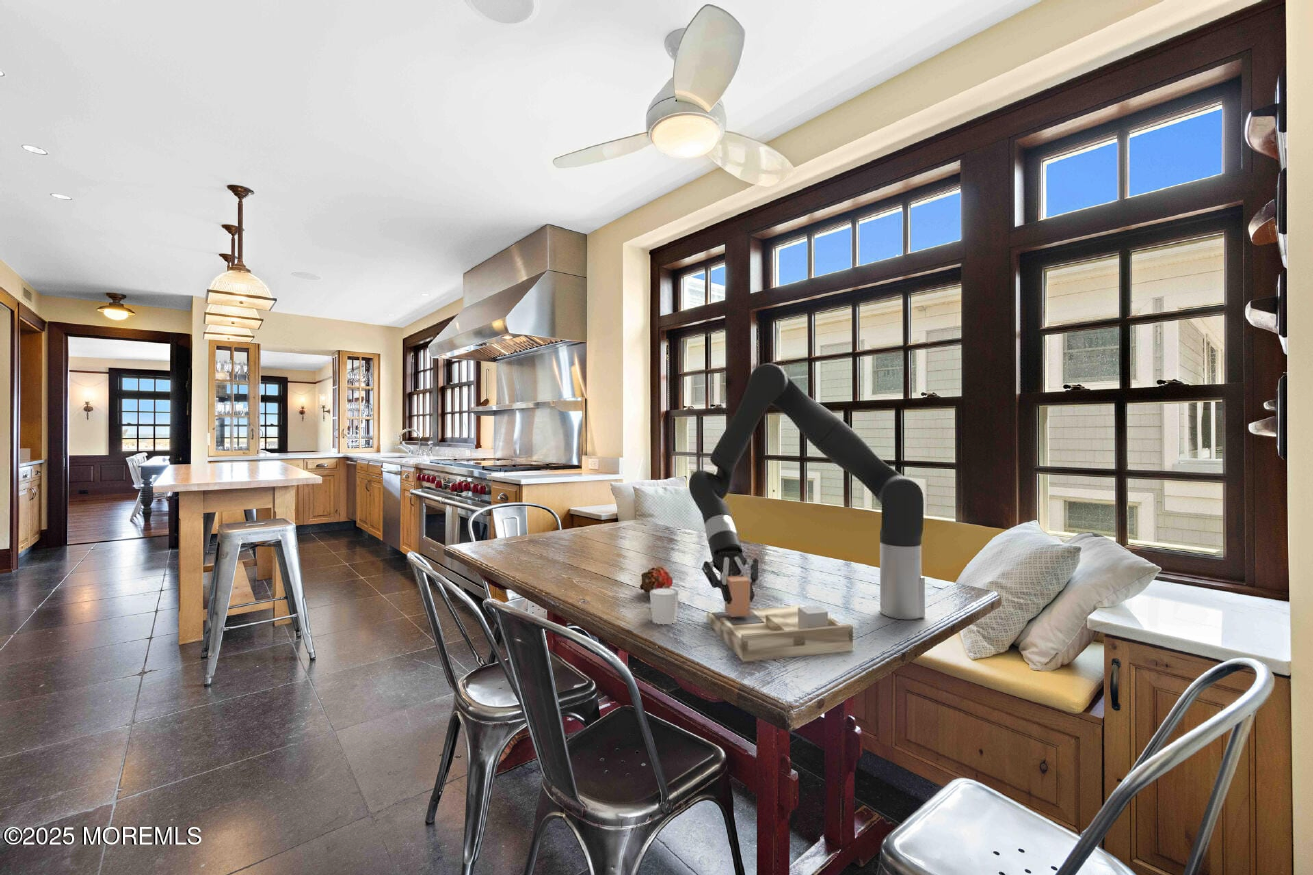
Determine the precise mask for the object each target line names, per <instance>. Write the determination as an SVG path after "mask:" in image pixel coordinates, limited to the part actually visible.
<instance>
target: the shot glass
mask: <svg viewBox="0 0 1313 875" xmlns="http://www.w3.org/2000/svg"><path fill="white" fill-rule="evenodd" d="M679 593H680V592H679V590H678V589H675V588H671V587H670V588H657V589H653V590H651V591H650V595H649V597H650V598H649V599H650V609H651V617H652V619H651V620H652V623H653V624H656V623H657V624H656V625H660V624H663V626H665V625H664V624H668V625H672V623H673V624H676V622H677V616H678V615H677V614H678V602H679Z"/></svg>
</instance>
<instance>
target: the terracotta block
mask: <svg viewBox="0 0 1313 875" xmlns="http://www.w3.org/2000/svg"><path fill="white" fill-rule="evenodd" d="M726 579H727V585H728V587H729V590H730V594H731V597H732V601H731V603H730V604H727V602H725V601H724V612H725V611H726V612H727V613H728V614H729V615H730V616H731V617H738V616H750V610H751V602H750V580H749V579H748V578H746V577H745V576H741V575H739V576H728V577H727V578H726Z"/></svg>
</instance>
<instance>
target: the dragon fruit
mask: <svg viewBox="0 0 1313 875" xmlns="http://www.w3.org/2000/svg"><path fill="white" fill-rule="evenodd" d="M640 575H641V579H640V580H641V583H640V585H639V589H640V590H642V591H643V592H644V593H646V594H648V595H649V596H650V591H651V590H653V589H657V588H671V587H672V586H673V577H672V576H671V575H670V573H669V572H668V571H667V570H666V569H665V568H664V567H662V566H661V565H659V566H656V567H652V568H650V569H648V570H647V571H645V572H643V573H642V574H640Z"/></svg>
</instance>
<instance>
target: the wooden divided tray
mask: <svg viewBox="0 0 1313 875" xmlns="http://www.w3.org/2000/svg"><path fill="white" fill-rule="evenodd" d="M798 607H802V605H793V606H792V605H790V606H779V607H768V608H766V607H765V608H754V609H752V608H751V609H750V616H738V617H731V616H730V615H729V614H728V613H727V612H726V611H725V610H724V611H715V612H707V613H706V622H707V624H709V626H711V628H712V629H713V630H714V631H715V632H716V633H717V635H719V636H720V638H721V639H722V640H723V641H724V642H725V643H726V644H727V646H729V648H730V649H731V650H732V651H733V652H734V653H735V654H736V655H737V657H739V658H740V660H741V661H742V662H744V663H745V662H754V661H764V660H772V659H773V660H775V659H784V658H794V657H803V656H814V655H823V654H834V653H843V652H844V653H845V652H846V653H847V652H853V651H854V626H853V625H852V624H845V625H844V624H842V623H841V622H840V621H837V620H836V619H835V618H833V617H831V616H829V615H828V627H818V628H807V629H798Z"/></svg>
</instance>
